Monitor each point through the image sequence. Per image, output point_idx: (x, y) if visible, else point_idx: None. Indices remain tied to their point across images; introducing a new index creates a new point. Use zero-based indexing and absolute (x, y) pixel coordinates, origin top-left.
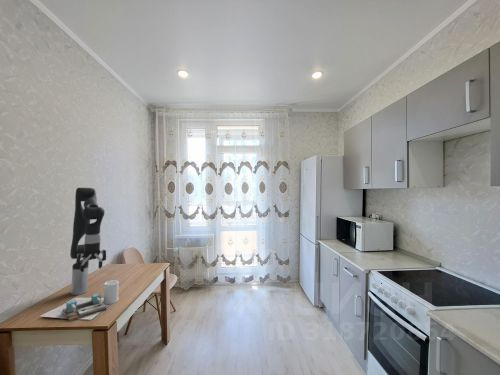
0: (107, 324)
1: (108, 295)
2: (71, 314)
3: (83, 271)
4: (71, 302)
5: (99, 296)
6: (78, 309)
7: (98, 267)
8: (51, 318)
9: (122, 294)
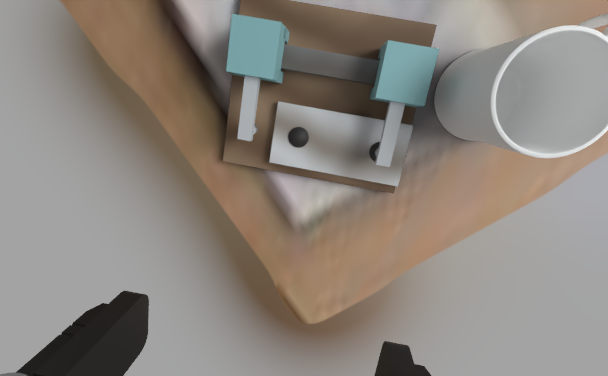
0: (316, 322)
1: (462, 127)
2: None
3: (138, 349)
4: (247, 62)
5: (411, 104)
6: (295, 76)
7: (384, 343)
8: (181, 41)
9: None
